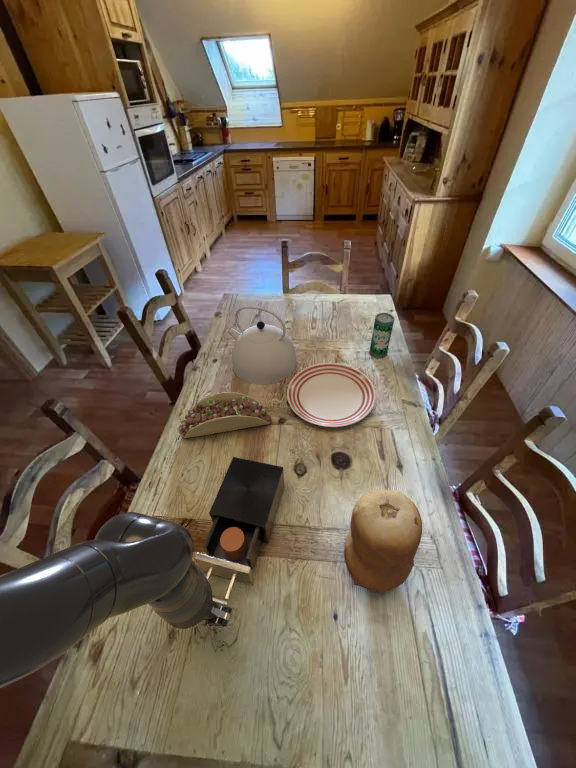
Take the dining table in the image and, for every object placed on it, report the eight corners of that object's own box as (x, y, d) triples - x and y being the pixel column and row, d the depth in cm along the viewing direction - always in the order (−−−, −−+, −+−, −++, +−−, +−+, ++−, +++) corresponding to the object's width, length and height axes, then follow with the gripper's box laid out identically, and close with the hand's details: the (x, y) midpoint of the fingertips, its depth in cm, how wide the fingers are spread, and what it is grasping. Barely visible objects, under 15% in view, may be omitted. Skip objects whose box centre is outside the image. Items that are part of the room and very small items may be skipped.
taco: (273, 432, 99) (271, 409, 92) (179, 448, 96) (170, 426, 89) (268, 407, 106) (266, 384, 99) (180, 422, 103) (171, 399, 96)
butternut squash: (359, 521, 80) (374, 462, 62) (415, 555, 74) (449, 501, 56) (329, 575, 72) (337, 524, 54) (389, 618, 66) (420, 577, 48)
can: (368, 357, 122) (375, 321, 111) (369, 346, 126) (375, 311, 116) (386, 359, 121) (394, 323, 110) (386, 348, 125) (394, 313, 114)
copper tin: (250, 553, 73) (247, 544, 70) (228, 564, 72) (224, 555, 68) (242, 532, 77) (239, 522, 73) (220, 542, 75) (216, 533, 72)
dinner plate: (299, 441, 96) (299, 434, 94) (279, 377, 116) (278, 370, 113) (389, 422, 100) (391, 415, 98) (355, 363, 120) (356, 356, 117)
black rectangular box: (268, 544, 77) (265, 527, 70) (216, 530, 79) (208, 513, 73) (284, 486, 87) (283, 466, 80) (238, 476, 89) (233, 456, 83)
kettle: (215, 373, 118) (201, 318, 102) (245, 336, 133) (237, 283, 117) (281, 391, 111) (277, 335, 95) (305, 350, 126) (305, 295, 110)
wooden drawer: (242, 618, 66) (237, 609, 61) (189, 602, 68) (180, 591, 63) (271, 522, 79) (268, 507, 74) (225, 511, 81) (220, 496, 76)
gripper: (126, 608, 48) (162, 632, 61) (212, 636, 46) (231, 655, 58) (154, 554, 54) (181, 586, 66) (232, 576, 51) (246, 605, 63)
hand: (205, 618), depth 62 cm, fingers closed
